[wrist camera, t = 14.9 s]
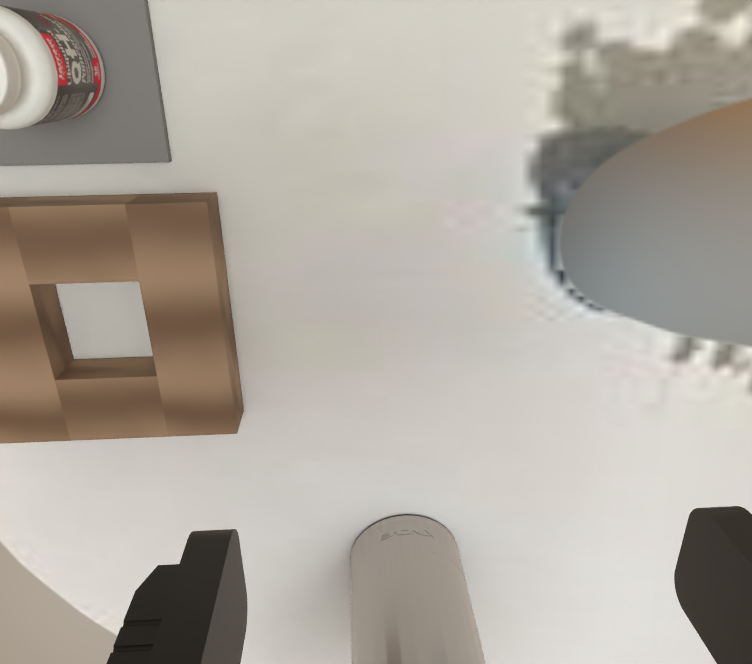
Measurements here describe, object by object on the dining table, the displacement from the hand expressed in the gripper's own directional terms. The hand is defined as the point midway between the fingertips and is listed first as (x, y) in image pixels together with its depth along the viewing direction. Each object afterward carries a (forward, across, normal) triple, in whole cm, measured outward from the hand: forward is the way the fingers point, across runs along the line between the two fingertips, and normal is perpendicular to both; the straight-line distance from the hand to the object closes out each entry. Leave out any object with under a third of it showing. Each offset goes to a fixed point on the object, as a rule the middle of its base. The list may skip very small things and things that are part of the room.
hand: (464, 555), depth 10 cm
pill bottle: (+30, +18, -8) cm, 36 cm away
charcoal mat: (+30, +18, -8) cm, 36 cm away
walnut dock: (+30, +18, +7) cm, 36 cm away
